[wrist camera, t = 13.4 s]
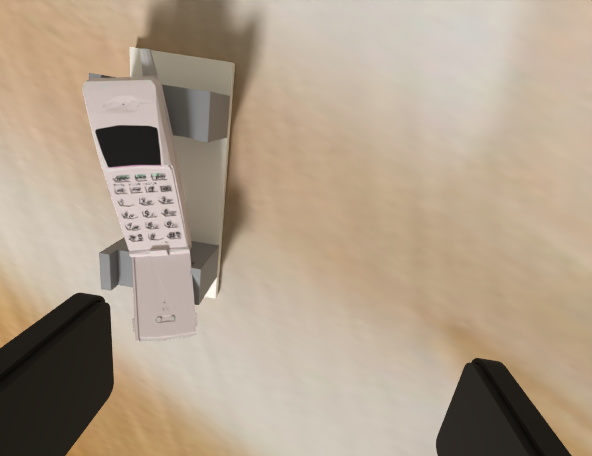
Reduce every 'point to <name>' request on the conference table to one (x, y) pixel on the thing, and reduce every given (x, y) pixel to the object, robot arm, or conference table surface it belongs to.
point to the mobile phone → (146, 197)
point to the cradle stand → (189, 161)
